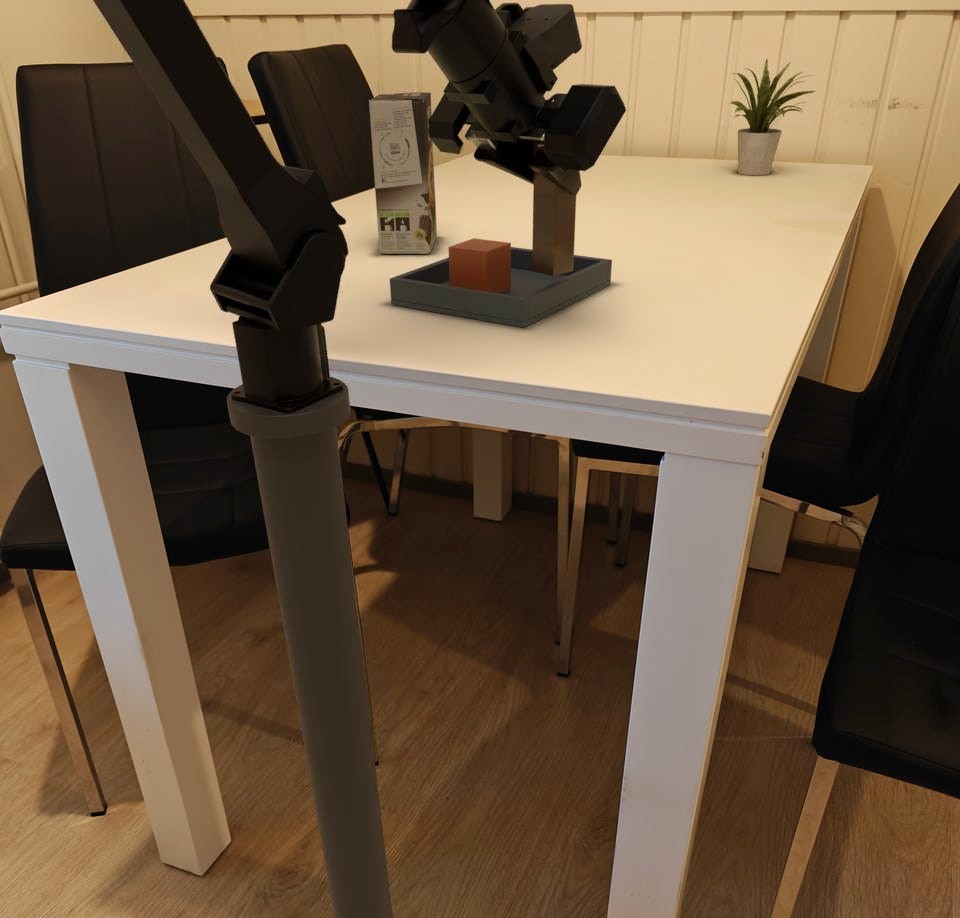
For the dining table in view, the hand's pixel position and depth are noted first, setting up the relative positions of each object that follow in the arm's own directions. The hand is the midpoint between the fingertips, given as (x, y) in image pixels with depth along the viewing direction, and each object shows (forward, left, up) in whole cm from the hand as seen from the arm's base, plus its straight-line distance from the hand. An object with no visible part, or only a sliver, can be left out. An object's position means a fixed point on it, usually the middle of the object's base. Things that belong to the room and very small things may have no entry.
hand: (565, 188), depth 83 cm
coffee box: (+14, +29, -11) cm, 34 cm away
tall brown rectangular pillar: (-1, 0, -7) cm, 7 cm away
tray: (+1, +7, -10) cm, 13 cm away
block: (-1, +9, -10) cm, 13 cm away
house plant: (+85, +11, -11) cm, 86 cm away
